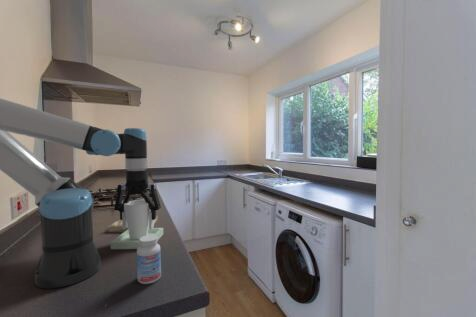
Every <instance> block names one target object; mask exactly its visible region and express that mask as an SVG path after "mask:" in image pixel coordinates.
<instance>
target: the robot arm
mask: <svg viewBox="0 0 476 317" xmlns="http://www.w3.org/2000/svg"><path fill="white" fill-rule="evenodd" d="M11 133H12V134H17V135H21V136H24V137H28V138H33V139H36V140H37V139H38V140H41V141H46V142H48V143H49V142H50V143H53V144H57V145H62V146H65V147H69V148H73V149H77V150H82V151H85V153H86V154H87V155H90V156H92V155H93V156H102V157H111V156H114V155H124V158H125V161H124V162H125V169H126V171H125V180H126V182H125V183H121V184H118V185H117V195H116V200H115V204H114V208H113V210H114V211H118V212H119V220H122V225H121V226H122V227H123V229H126V228H127V227H128V225H127V220H126V215H125V210H124V203H126V204H127V203H128V202H129V201H131V199H132V197H133V195H139V196H141V197H143V200H145V201H146V203H148V207H149V208H150V212H149V229H152V228H155V223H154V220H155V219H156V215H157V211H159V210H160V209H161V207H162V205H161V203H160V198H159V195H158V192H157V183H156V182H155V183H149V181H148V178H149V176H148V174H149V173H148V170H147V168H148V148H147V147H148V146H147V143H148V140H147V132H146V129H144V128H137V127H129V128H125V129H124V132H123V133H116V132H115V131H112V130H111V129H104V128H99V127H96V126H93V125H90V124H87V123H84V122H81V121H80V122H79V121H76V120H74V119H70V118H66V117H63V116H59V115H57V114H53V113H50V112H47V111H44V110H40V109H36V108H34V107H30V106H28V105H23V104H20V103H17V102H13V101H11V100H7V99H4V98H0V171H1V172H3V173H4V174H5V175H6V176H8V177H9V178H11V180H13V182H15V183H17V184H18V185H19V186H21V187H22V188H23V189H24V190H25V191H27V192H28V193H29V194H31V195H32V196H33V197H34V204H35V206H37V207H38V212H39V216H40V218H39V219H40V233H41V234H40V235H41V249H42V250H41V255H40V259H39V262H38V265H37V267H36V271H35V274H34V284H35V286H36V287H37V288H40V289H47V290H49V289H59V288H63V287H67V286H72V285H74V284H77V283H80V282H82V281H85V280H86V279H88V278H90V277H92V276H93V275H94V274H95V275H96V274H97V272H98V271H99V270H101V267H102V258H101V255H100V253H99V251H98V249H97V246H96V244H95V242H94V228H93V226H94V225H93V212H94V211H93V209H94V207H95V206H94V205H95V200H94V197H93V195H92V193H91V192H90V191H89V190H88V189H87V188H85V187H82V186H80V185H79V184H78V183H76V182H75V181H74V180H73V179H72V178H71V177H62V176H60V174H58V173H57V172H56V171H54V169H52V168H51V167H50V166H48V165H47V164H46V162H44V161H43V160H41V159H40V158H39V157H38V156H37V155H36V154H34V153H33V152H32V151H31V150H29V149H28V148H27V146H25V144H22V143H21V142H20V141H19V140H18V139H17V138H15V137H14V136H13V135H12V134H11ZM126 189H127V190H128V191H127V192H126V195H125V197H124V194H125V190H126ZM147 189H148V190H150V194H151V195H150V194H149V192H148V190H147ZM151 197H152V198H151ZM123 198H124V200H123Z"/></svg>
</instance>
